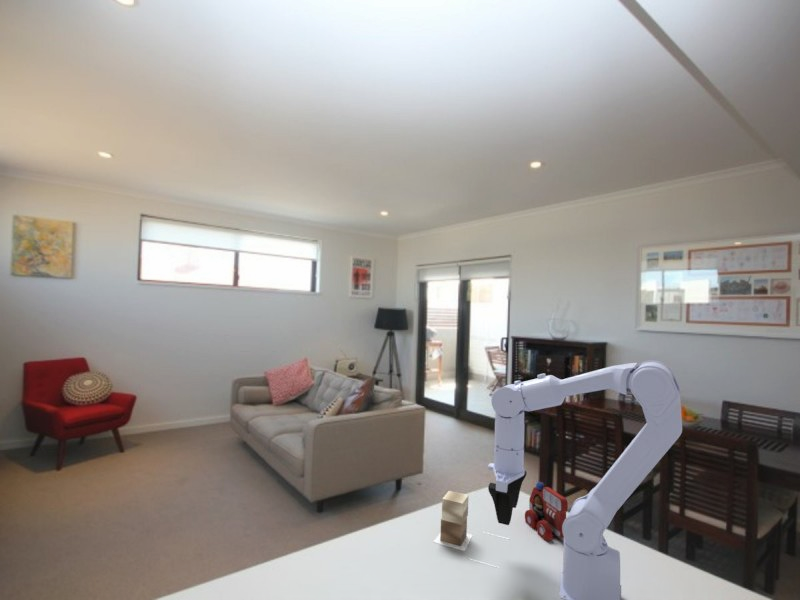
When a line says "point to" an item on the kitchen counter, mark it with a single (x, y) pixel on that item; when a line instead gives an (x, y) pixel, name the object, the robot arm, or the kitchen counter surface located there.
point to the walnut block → (453, 532)
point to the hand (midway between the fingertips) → (507, 514)
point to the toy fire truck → (546, 512)
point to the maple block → (455, 507)
